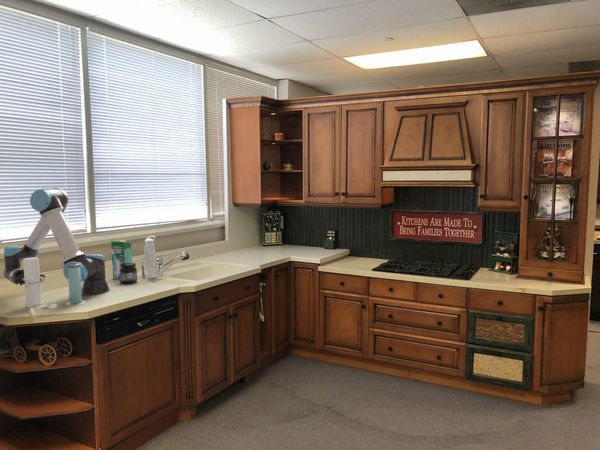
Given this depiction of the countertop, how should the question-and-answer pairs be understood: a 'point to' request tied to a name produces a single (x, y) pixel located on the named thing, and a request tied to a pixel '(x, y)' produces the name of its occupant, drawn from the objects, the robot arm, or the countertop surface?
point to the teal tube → (74, 283)
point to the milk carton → (120, 256)
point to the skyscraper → (149, 259)
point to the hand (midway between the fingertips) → (36, 281)
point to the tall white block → (32, 281)
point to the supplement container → (128, 273)
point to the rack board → (56, 305)
